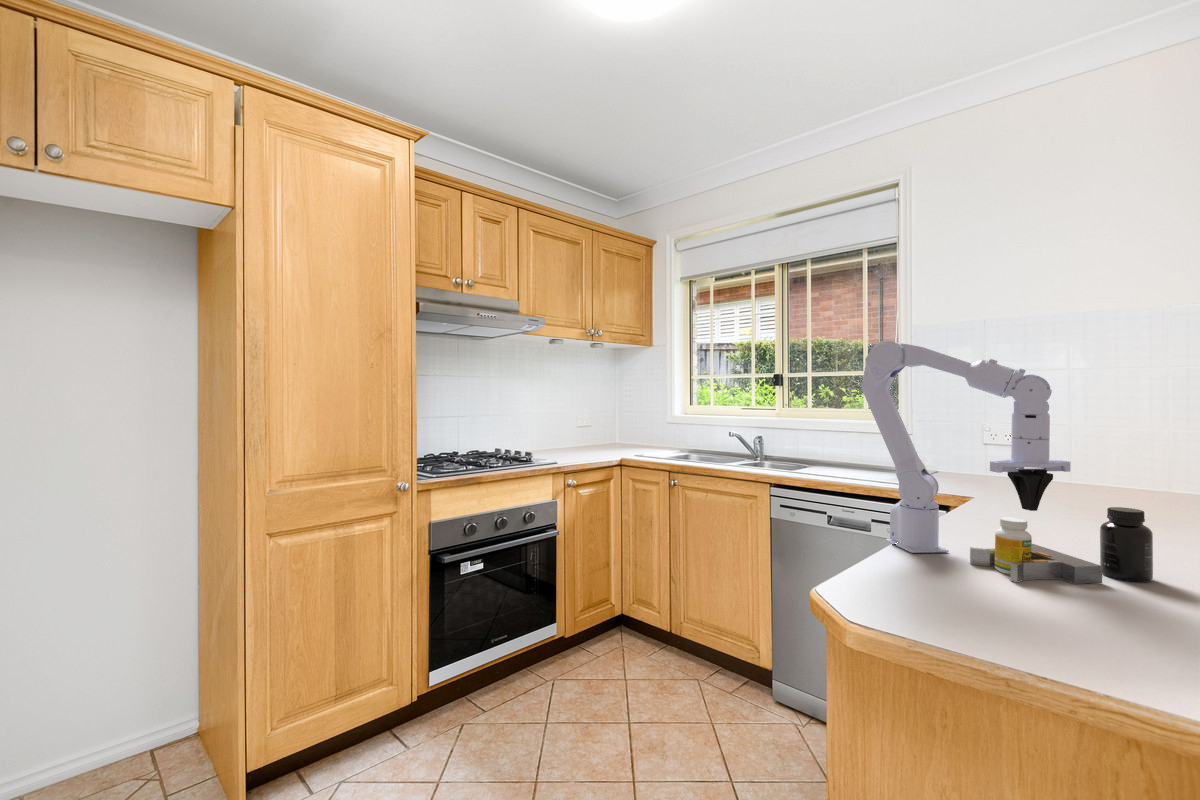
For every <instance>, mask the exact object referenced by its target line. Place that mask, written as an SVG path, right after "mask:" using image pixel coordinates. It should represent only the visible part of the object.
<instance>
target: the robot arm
mask: <svg viewBox="0 0 1200 800" xmlns="http://www.w3.org/2000/svg"><path fill="white" fill-rule="evenodd" d="M864 362H865V364H864V365H865V366H864V372H863V377H862V382H861V390H862V393H863V395H864V398H865V400H866V402H867V404H868V407H869V409H870V411H871V413H872V416H873V419H874V420H875V421H874V422H876V425H877V428H878V430H879V431H880V434H881V436H882V439H883V441H884V443H885V445H886V448H887V450H888V453H889V454H890V457H891V459H892V462H893V464H894V470H895V476H896V478H897V480H898V495H899V497H900V500H898V502H896V503H895V504H894V505H893V506H892V507H891V509H890V512H889V538H886V539H885V541H886V542H887V543H890V544H892V545H894V544H895V543H897V542H898V543H897V544H896V545H895V546H896V547H898V548H900V549H903V550H904V551H907V552H909V553H913V554H923V553H925V554H927V553H931V554H932V553H949V549H948V548H946V547H943V546H940V545H939V537H940V536H939V534H940V533H939V528H940V527H939V516H940V515H939V514H940V510H939V509H940V508H939V507H940V505H939V504H938V503H937V502H936V500H935V499H934V498H935V497H936V495H937V494H938V492H939V489H940V487H939V482H938V481H937V479H936V478H935V477H934V475H932V474H931V473H930V472H929V471H928V469H927V467H926V465H925V464H924V462H923V461H922V460H921V459H920V457H919V454H918V452H917V450H916V448H915V445H914V444H913V442H912V439H911V437H910V435H909V432H908V429H907V428H906V426H905V423H904V421H903V419H902V416H901V415H900V412H899V410H898V408H897V405H896V404H895V401H894V399H893V396H892V395H891V392H890V390H889V388H890V387H891V385H892V383H893V381H894V379H895V378H896V376H897V375H898V374H899V373H900V372H902V370H903V369H905V368H906V367H908V368H914V367H921V366H926V367H929V368H932V369H936V370H939V371H942V372H945V373H949V374H952V375H955V376H959V377H962V378H964V379H965V380H966V382H967V384H968V386H969V388H973V389H975V390H976V389H977V390H979V391H983V392H985V393H988V394H991V395H995V396H998V397H1002V398H1004V399H1005V398H1007V397H1012V399H1013V400H1014V401H1013V412H1012V414H1011V444H1010V445H1011V447H1010V448H1011V455H1010V457H1011V458H1010V459H1003V460H991V461H989V472H992V473H993V472H994V473H1007V476H1008V478H1009V479H1010V481H1011V482H1012V484H1013V486H1014V488H1015V491H1016V493H1017V495H1018V498H1019V499H1018V500H1019V502H1020V505H1021V509H1022V510H1025V511H1031V512H1035V511H1036V512H1037V511H1038V508H1039V505H1040V503H1041V500H1042V497H1043V496H1044V492H1045V490H1046V489H1047V487H1048V486H1049V484H1050V483H1051V482H1052V481H1053V480H1054V474H1053V473H1050V472H1065V473H1066V472H1067V473H1068V472H1069V473H1071V461H1070V460H1069V461H1067V460H1062V459H1061V460H1057V459H1056V460H1055V459H1053V460H1050V437H1051V435H1050V425H1051V423H1050V422H1051V419H1050V418H1051V417H1050V416H1051V415H1050V414H1049V410H1050V405H1049V402H1048V400H1049V399H1050V397H1051V395H1052V389H1051V386H1050V383H1049V382H1048V381H1047V380H1046V379H1045V378H1043V376H1042V377H1041V376H1039V375H1036V374H1025V373H1026V371H1027V370H1026V369H1023V368H1021V367H1020V368H1019V370H1018V369H1015V368H1012V367H1009V366H1005V365H1001V364H999V363H998V360H996V359H992V358H989V360H986V359H980V360H978V361H974V362H972V363H971V362H969V361H966V360H962V359H960V358H956V357H953V356H951V355H948V354H945V353H940V352H938V351H936V350H932V349H930V348H926V347H924V346H920V345H914V344H909V343H901V342H900V343H898V342H895V341H892V340H881V341H879V342H877V343H876V344H874V345H873V347H872V348H871V349H870V350H869V352H868V354H867V355H866V357H865V361H864ZM1048 472H1049V473H1048Z"/></svg>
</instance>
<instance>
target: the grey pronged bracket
mask: <svg viewBox="0 0 1200 800" xmlns="http://www.w3.org/2000/svg"><path fill="white" fill-rule="evenodd" d="M969 564H970V565H972V566H973V565H974V566H982V567H995V548H982V547H981V548H980V547H971V546H970V547H969ZM1033 579H1052V580H1062V579H1063V581H1064V582H1067V581H1068V582H1067V583H1070V582H1071V584H1073V583H1074V584H1073V585H1085V584H1084V583H1102V584H1103V573H1102V566H1100V564H1097V563H1095V562H1091V561H1088V560H1085V559H1083V558H1078V557H1075V556H1072V555H1069V554H1065V553H1063V552H1059V551H1057V550H1054V549H1051V548H1047V547H1044V546H1041V545H1038V544H1035V543H1032V546H1031V561H1017V562H1014V563H1012V564H1011V575H1010V582H1012V581H1014V582H1013V583H1016V582H1018V583H1020V582H1022V581H1034V580H1033ZM1021 580H1022V581H1021ZM1019 581H1020V582H1019Z"/></svg>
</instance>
